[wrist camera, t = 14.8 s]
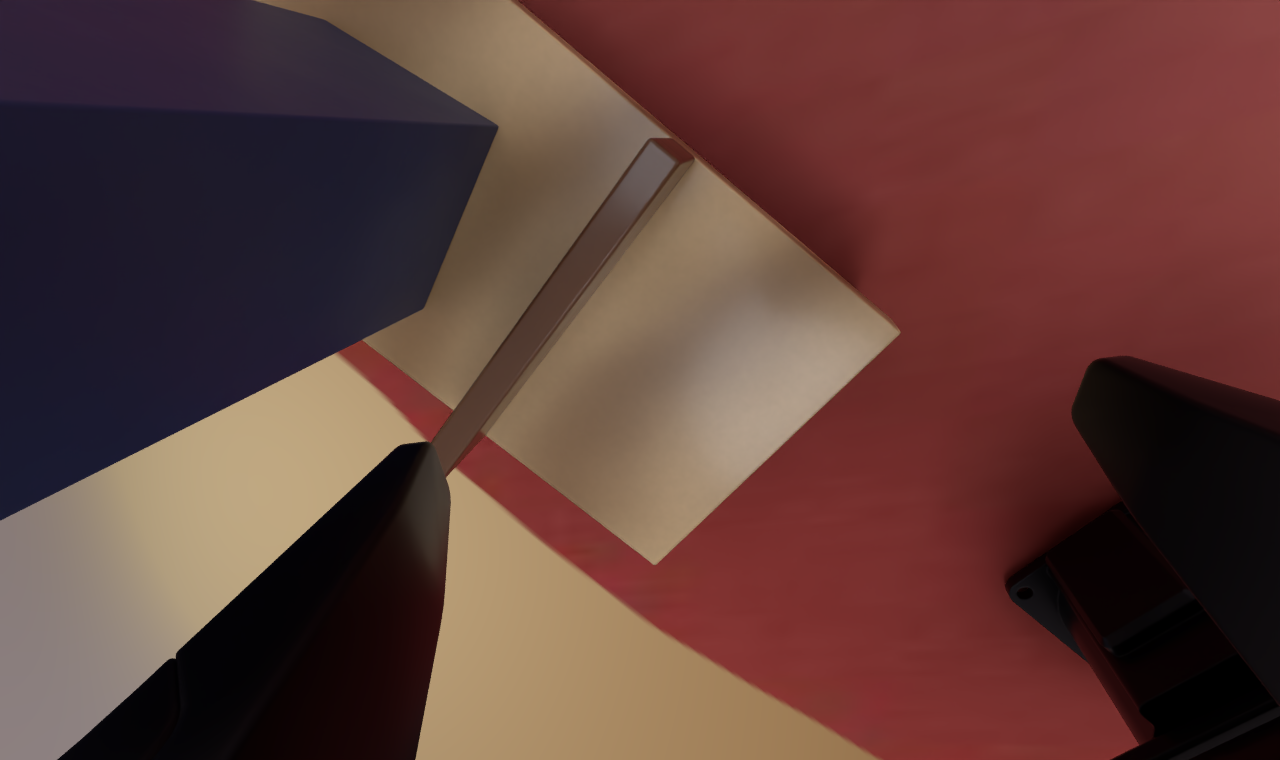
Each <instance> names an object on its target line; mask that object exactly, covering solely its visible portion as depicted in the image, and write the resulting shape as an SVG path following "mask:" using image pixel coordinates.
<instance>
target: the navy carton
mask: <svg viewBox="0 0 1280 760" xmlns="http://www.w3.org/2000/svg"><path fill="white" fill-rule="evenodd" d="M497 130H498V125H497V124H495V123H493V122H492V121H490V120H488V119H487V118H485V117H484V116H482V115H480V114H479V113H477V112H475V111H474V110H472V109H470V108H469V107H467V106H465V105H464V104H462V103H461V102H459V101H457V100H456V99H454V98H452V97H451V96H449V95H447V94H446V93H444V92H442V91H441V90H439V89H438V88H436V87H434V86H433V85H431V84H429V83H428V82H426V81H424V80H423V79H421V78H419V77H418V76H416V75H415V74H413V73H411V72H410V71H408V70H406V69H405V68H403V67H401V66H400V65H398V64H396V63H395V62H393V61H392V60H390V59H388V58H387V57H385V56H383V55H382V54H380V53H378V52H377V51H375V50H373V49H372V48H370V47H369V46H367V45H365V44H364V43H362V42H360V41H359V40H357V39H355V38H354V37H352V36H350V35H349V34H347V33H346V32H344V31H342V30H341V29H339V28H337V27H336V26H334V25H332V24H331V23H329V22H328V21H326V20H324V19H321V18H317V17H313V16H310V15H306V14H302V13H298V12H295V11H291V10H287V9H284V8H280V7H276V6H273V5H269V4H265V3H262V2H258V1H254V0H0V520H2V519H4V518H6V517H8V516H10V515H12V514H14V513H16V512H18V511H20V510H22V509H24V508H26V507H28V506H30V505H32V504H34V503H36V502H38V501H40V500H42V499H44V498H46V497H48V496H50V495H52V494H54V493H56V492H58V491H60V490H62V489H64V488H66V487H68V486H70V485H72V484H74V483H76V482H78V481H80V480H82V479H84V478H86V477H88V476H90V475H92V474H94V473H96V472H98V471H100V470H102V469H104V468H106V467H108V466H110V465H112V464H114V463H116V462H118V461H120V460H122V459H124V458H126V457H128V456H130V455H132V454H134V453H136V452H138V451H140V450H142V449H144V448H146V447H148V446H150V445H152V444H154V443H156V442H158V441H160V440H162V439H164V438H166V437H168V436H170V435H172V434H174V433H176V432H178V431H180V430H182V429H184V428H186V427H188V426H190V425H192V424H194V423H196V422H198V421H200V420H202V419H204V418H206V417H208V416H210V415H212V414H214V413H216V412H218V411H220V410H222V409H224V408H226V407H228V406H230V405H232V404H234V403H236V402H238V401H240V400H242V399H244V398H246V397H248V396H250V395H252V394H254V393H256V392H258V391H260V390H262V389H264V388H266V387H268V386H270V385H272V384H274V383H276V382H278V381H280V380H282V379H284V378H286V377H288V376H290V375H292V374H294V373H296V372H298V371H300V370H302V369H304V368H306V367H308V366H310V365H312V364H314V363H316V362H318V361H320V360H322V359H324V358H326V357H328V356H330V355H332V354H334V353H336V352H338V351H340V350H342V349H344V348H346V347H348V346H350V345H352V344H354V343H356V342H358V341H360V340H362V339H364V338H366V337H368V336H370V335H372V334H374V333H376V332H378V331H380V330H382V329H384V328H386V327H388V326H390V325H392V324H394V323H396V322H398V321H400V320H402V319H404V318H406V317H408V316H410V315H412V314H414V313H416V312H418V311H420V310H422V309H424V307H425V304H426V302H427V299H428V297H429V294H430V292H431V290H432V287H433V285H434V282H435V280H436V277H437V275H438V273H439V270H440V268H441V265H442V263H443V261H444V258H445V256H446V253H447V251H448V248H449V246H450V244H451V241H452V239H453V236H454V234H455V232H456V229H457V227H458V224H459V222H460V219H461V217H462V215H463V212H464V210H465V207H466V205H467V202H468V200H469V198H470V195H471V193H472V190H473V188H474V186H475V183H476V181H477V178H478V176H479V173H480V171H481V169H482V166H483V164H484V161H485V159H486V157H487V154H488V152H489V149H490V147H491V144H492V142H493V140H494V137H495V135H496V132H497Z"/></svg>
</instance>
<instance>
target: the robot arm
mask: <svg viewBox="0 0 1280 760" xmlns="http://www.w3.org/2000/svg"><path fill="white" fill-rule="evenodd" d="M1071 413H1072V419H1073V422H1074V424H1075V426H1076V428H1077V430H1078V431H1079V433H1080V434H1081V436H1082V438H1083V439H1084V441H1085V442H1086V444H1087V445H1088V447H1089V449H1090V450H1091V452H1092V453H1093V455H1094V457H1095V458H1096V460H1097V461H1098V463H1099V465H1100V466H1101V468H1102V469H1103V471H1104V472H1105V474H1106V476H1107V477H1108V479H1109V480H1110V482H1111V484H1112V485H1113V487H1114V488H1115V490H1116V492H1117V493H1118V495H1119V496H1120V498H1121V500H1122V501H1121V502H1120V503H1118V504H1117V505H1116V506H1114V507H1113V508H1111V509H1110V510H1108V511H1107V512H1105V513H1104V514H1102V515H1101V516H1099V517H1098V518H1097V519H1095V520H1094V521H1092V522H1091V523H1089V524H1088V525H1086V526H1085V527H1083V528H1082V529H1080V530H1079V531H1077V532H1076V533H1075V534H1073V535H1072V536H1070V537H1069V538H1067V539H1066V540H1064V541H1063V542H1061V543H1060V544H1058V545H1057V546H1056V547H1054V548H1053V549H1051V550H1050V551H1048V552H1047V553H1045V554H1044V555H1042V556H1041V557H1039V558H1038V559H1036V560H1035V561H1034V562H1032V563H1031V564H1029V565H1028V566H1026V567H1025V568H1023V569H1022V570H1020V571H1019V572H1017V573H1016V574H1015V575H1013V576H1012V577H1010V578H1009V579H1008V580H1007V582H1006V584H1005V588H1006V591H1007V593H1008V595H1009V597H1010V598H1011V599H1012V601H1013V602H1014V603H1016V604H1017V605H1018V606H1019V607H1021V608H1022V609H1023V610H1024V611H1025V612H1027V613H1028V614H1029V615H1030V616H1032V617H1033V618H1034V619H1035V620H1036V621H1038V622H1039V623H1040V624H1041V625H1043V626H1044V627H1045V628H1046V629H1047V630H1049V631H1050V632H1051V633H1052V634H1054V635H1055V636H1056V637H1057V638H1059V639H1060V640H1061V641H1062V642H1063V643H1065V644H1066V645H1067V646H1068V647H1070V648H1071V649H1072V650H1073V651H1074V652H1076V653H1077V654H1078V655H1079V656H1081V657H1082V658H1083V659H1084V660H1085V661H1087V662H1088V663H1089V664H1090V666H1091V667H1092V669H1093V671H1094V672H1095V674H1096V676H1097V677H1098V679H1099V680H1100V682H1101V684H1102V685H1103V687H1104V688H1105V690H1106V692H1107V693H1108V695H1109V697H1110V698H1111V700H1112V701H1113V703H1114V705H1115V706H1116V708H1117V709H1118V711H1119V713H1120V714H1121V716H1122V718H1123V719H1124V721H1125V722H1126V724H1127V726H1128V727H1129V729H1130V730H1131V732H1132V734H1133V735H1134V737H1135V739H1136V740H1137V742H1138V743H1139V746H1137V747H1135V748H1133V749H1131V750H1129V751H1127V752H1125V753H1123V754H1121V755H1119V756H1117V757H1115V758H1113V759H1111V760H1280V401H1278V400H1275V399H1272V398H1268V397H1265V396H1262V395H1258V394H1255V393H1252V392H1248V391H1245V390H1242V389H1238V388H1235V387H1232V386H1228V385H1225V384H1222V383H1218V382H1215V381H1211V380H1208V379H1205V378H1201V377H1198V376H1195V375H1191V374H1188V373H1185V372H1181V371H1178V370H1175V369H1171V368H1168V367H1165V366H1161V365H1158V364H1155V363H1151V362H1148V361H1145V360H1141V359H1138V358H1135V357H1131V356H1116V357H1108V358H1100V359H1097V360H1095V361H1093V362H1092V363H1091V364H1090V365H1089V366H1088V368H1087V370H1086V372H1085V375H1084V377H1083V380H1082V382H1081V385H1080V387H1079V390H1078V392H1077V395H1076V397H1075V400H1074V402H1073V405H1072V412H1071ZM450 504H451V501H450V491H449V486H448V483H447V480H446V477H445V474H444V471H443V468H442V466H441V463H440V460H439V457H438V454H437V451H436V449H435V447H434V446H433V444H432V443H430V442H418V443H409V444H403V445H400V446H398V447H397V448H395V449H394V450H393V451H392V452H391V453H390V454H389V455H388V456H387V457H386V458H385V459H383V461H381V462H380V463H379V464H378V465H377V466H376V467H375V468H374V469H373V470H372V471H371V472H369V473H368V474H367V476H365V477H364V478H363V479H362V480H361V481H360V482H359V483H358V484H357V485H356V486H355V487H353V488H352V489H351V490H350V491H349V492H348V493H347V494H346V495H345V496H344V497H343V498H342V499H341V500H340V501H338V502H337V503H336V504H335V505H334V506H333V507H332V508H331V509H330V510H329V511H328V512H327V513H326V514H324V515H323V516H322V517H321V518H320V519H319V520H318V521H317V522H316V523H315V524H314V525H313V526H312V527H310V529H308V530H307V531H306V532H305V533H304V534H303V535H302V536H301V537H300V538H299V539H298V540H297V541H295V542H294V543H293V544H292V545H291V546H290V547H289V548H288V549H287V550H286V551H285V552H284V553H283V554H282V555H280V556H279V557H278V558H277V559H276V560H275V561H274V562H273V563H272V564H271V565H270V566H269V567H268V568H267V569H265V571H263V572H262V573H261V574H260V575H259V576H258V577H257V578H256V579H255V580H254V581H253V582H251V583H250V584H249V585H248V586H247V587H246V588H245V589H244V590H243V591H242V592H241V593H240V594H239V595H238V596H236V597H235V599H233V600H232V601H231V602H230V603H229V604H228V605H227V606H226V607H225V608H224V609H223V610H222V611H221V612H219V613H218V614H217V615H216V616H215V617H214V618H213V619H212V620H211V621H210V622H209V623H208V624H206V625H205V626H204V628H202V629H201V630H200V631H199V632H198V633H197V634H196V635H195V636H194V637H192V638H191V639H190V640H189V641H188V642H187V643H186V644H185V645H184V646H183V647H182V648H181V649H180V650H179V651H178V652H177V653H176V659H173V658H172V659H169V660H168V661H167V662H165V663H164V664H163V665H162V666H161V667H160V668H159V669H158V670H157V671H156V672H155V673H154V674H153V675H151V676H150V677H149V678H148V679H147V680H146V681H145V682H144V683H143V684H142V685H141V686H140V687H139V688H137V689H136V690H135V691H134V692H133V693H132V694H131V695H130V696H129V697H128V698H126V699H125V700H124V701H123V702H122V703H121V704H120V705H119V706H118V707H116V708H115V709H114V710H113V711H112V712H111V713H110V714H109V715H108V716H106V717H105V718H104V719H103V720H102V721H101V722H100V723H99V724H98V725H97V726H95V727H94V728H93V729H92V730H91V731H90V732H89V733H88V734H87V735H85V736H84V737H83V738H82V739H81V740H80V741H79V742H77V743H76V744H75V745H74V746H73V747H72V748H70V749H69V750H68V751H67V752H66V753H65V754H63V755H62V756H61V757H60V758H59V759H58V760H415V758H416V752H417V748H418V742H419V736H420V732H421V726H422V721H423V716H424V710H425V705H426V700H427V694H428V689H429V683H430V678H431V673H432V668H433V662H434V657H435V652H436V646H437V641H438V636H439V631H440V625H441V619H442V613H443V606H444V594H445V580H446V566H447V565H446V564H447V550H448V535H449V520H450ZM1023 587H1028V588H1027V590H1025V591H1022V592H1019V591H1018V590H1019V589H1021V588H1023Z"/></svg>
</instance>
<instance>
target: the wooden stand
mask: <svg viewBox="0 0 1280 760" xmlns="http://www.w3.org/2000/svg"><path fill="white" fill-rule="evenodd" d="M254 1H258V2H262V3H265V4H269V5H273V6H276V7H280V8H284V9H287V10H291V11H295V12H298V13H302V14H306V15H310V16H313V17H317V18H321V19H324V20H326V21H328V22H329V23H331V24H332V25H334V26H336V27H337V28H339V29H341V30H342V31H344V32H346V33H347V34H349V35H350V36H352V37H354V38H355V39H357V40H359V41H360V42H362V43H364V44H365V45H367V46H369V47H370V48H372V49H373V50H375V51H377V52H378V53H380V54H382V55H383V56H385V57H387V58H388V59H390V60H392V61H393V62H395V63H396V64H398V65H400V66H401V67H403V68H405V69H406V70H408V71H410V72H411V73H413V74H415V75H416V76H418V77H419V78H421V79H423V80H424V81H426V82H428V83H429V84H431V85H433V86H434V87H436V88H438V89H439V90H441V91H442V92H444V93H446V94H447V95H449V96H451V97H452V98H454V99H456V100H457V101H459V102H461V103H462V104H464V105H465V106H467V107H469V108H470V109H472V110H474V111H475V112H477V113H479V114H480V115H482V116H484V117H485V118H487V119H488V120H490V121H492V122H493V123H495V124H497V125H498V130H497V132H496V135H495V137H494V140H493V142H492V144H491V147H490V149H489V152H488V154H487V157H486V159H485V161H484V164H483V166H482V169H481V171H480V173H479V176H478V178H477V181H476V183H475V186H474V188H473V190H472V193H471V195H470V198H469V200H468V202H467V205H466V207H465V210H464V212H463V215H462V217H461V219H460V222H459V224H458V227H457V229H456V232H455V234H454V236H453V239H452V241H451V244H450V246H449V248H448V251H447V253H446V256H445V258H444V261H443V263H442V265H441V268H440V270H439V273H438V275H437V277H436V280H435V282H434V285H433V287H432V290H431V292H430V294H429V297H428V299H427V302H426V304H425V307H424V309H422V310H420V311H418V312H416V313H414V314H412V315H410V316H408V317H406V318H404V319H402V320H400V321H398V322H396V323H394V324H392V325H390V326H388V327H386V328H384V329H382V330H380V331H378V332H376V333H374V334H372V335H370V336H368V337H366V338H364V339H362V340H363V341H364V342H365V343H367V344H368V345H369V346H371V347H372V348H373V349H374V350H376V351H377V352H378V353H380V354H381V355H382V356H384V357H385V358H386V359H387V360H389V361H390V362H391V363H393V364H394V365H395V366H396V367H398V368H399V369H400V370H402V371H403V372H404V373H406V374H407V375H408V376H409V377H411V378H412V379H413V380H415V381H416V382H417V383H419V384H420V385H421V386H422V387H424V388H425V389H426V390H428V391H429V392H430V393H432V394H433V395H434V396H435V397H437V398H438V399H439V400H441V401H442V402H443V403H445V404H446V405H447V406H448V407H450V408H451V409H452V410H454V411H453V412H452V414H451V415H450V416H449V418H448V419H447V421H446V422H445V423H444V425H443V426H442V428H441V429H440V430H439V432H438V433H437V435H436V436H435V437H434V439H433V440H432V442H431V443H432V444H433V446H434V447H435V449H436V451H437V454H438V457H439V460H440V463H441V466H442V468H443V471H444V474H445V477H447V476H448V475H449V473H450V472H451V471H452V470H453V469H454V468H455V467H456V466H457V465H458V464H459V463H460V462H461V461H462V460H463V459H464V458H465V456H466V455H467V454H468V453H469V452H470V451H471V450H472V449H473V448H474V447H475V446H476V445H477V444H478V443H479V442H480V441H481V439H482V438H483V437H484V436H485V435H486V436H487V437H489V438H490V439H491V440H493V441H494V442H495V443H496V444H498V445H499V446H500V447H502V448H503V449H504V450H506V451H507V452H508V453H509V454H511V455H512V456H513V457H515V458H516V459H517V460H518V461H520V462H521V463H522V464H524V465H525V466H526V467H528V468H529V469H530V470H531V471H533V472H534V473H535V474H537V475H538V476H539V477H541V478H542V479H543V480H544V481H546V482H547V483H548V484H550V485H551V486H552V487H554V488H555V489H556V490H557V491H559V492H560V493H561V494H563V495H564V496H565V497H567V498H568V499H569V500H570V501H572V502H573V503H574V504H576V505H577V506H578V507H580V508H581V509H582V510H583V511H585V512H586V513H587V514H589V515H590V516H591V517H592V518H594V519H595V520H596V521H598V522H599V523H600V524H602V525H603V526H604V527H605V528H607V529H608V530H609V531H611V532H612V533H613V534H615V535H616V536H617V537H618V538H620V539H621V540H622V541H624V542H625V543H626V544H628V545H629V546H630V547H631V548H633V549H634V550H635V551H637V552H638V553H639V554H641V555H642V556H643V557H644V558H646V559H647V560H648V561H650V562H651V563H652V564H653V565H656V564H657V563H658V562H659V561H661V560H662V559H663V558H664V557H665V556H666V555H667V554H668V553H669V552H670V551H671V550H672V549H673V548H674V547H675V546H676V545H677V544H679V543H680V542H681V541H682V540H683V539H684V538H685V537H686V536H687V535H688V534H689V533H690V532H691V531H692V530H693V529H694V528H695V527H696V526H698V525H699V524H700V523H701V522H702V521H703V520H704V519H705V518H706V517H707V516H708V515H709V514H710V513H711V512H712V511H713V510H714V509H716V508H717V507H718V506H719V505H720V504H721V503H722V502H723V501H724V500H725V499H726V498H727V497H728V496H729V495H730V494H731V493H732V492H733V491H735V490H736V489H737V488H738V487H739V486H740V485H741V484H742V483H743V482H744V481H745V480H746V479H747V478H748V477H749V476H750V475H751V474H753V473H754V472H755V471H756V470H757V469H758V468H759V467H760V466H761V465H762V464H763V463H764V462H765V461H766V460H767V459H768V458H769V457H770V456H772V455H773V454H774V453H775V452H776V451H777V450H778V449H779V448H780V447H781V446H782V445H783V444H784V443H785V442H786V441H787V440H788V439H790V438H791V437H792V436H793V435H794V434H795V433H796V432H797V431H798V430H799V429H800V428H801V427H802V426H803V425H804V424H805V423H806V422H807V421H809V420H810V419H811V418H812V417H813V416H814V415H815V414H816V413H817V412H818V411H819V410H820V409H821V408H822V407H823V406H824V405H825V404H827V403H828V402H829V401H830V400H831V399H832V398H833V397H834V396H835V395H836V394H837V393H838V392H839V391H840V390H841V389H842V388H843V387H844V386H846V385H847V384H848V383H849V382H850V381H851V380H852V379H853V378H854V377H855V376H856V375H857V374H858V373H859V372H860V371H861V370H862V369H864V368H865V367H866V366H867V365H868V364H869V363H870V362H871V361H872V360H873V359H874V358H875V357H876V356H877V355H878V354H879V353H880V352H881V351H883V350H884V349H885V348H886V347H887V346H888V345H889V344H890V343H891V342H892V341H893V340H894V339H895V338H896V337H897V336H898V335H899V334H900V333H901V332H900V330H899V329H898V327H897V326H896V325H895V323H894V322H893V320H892V319H891V318H890V317H889V316H887V315H886V314H885V313H884V312H883V311H882V310H880V309H879V308H878V307H877V306H876V305H875V304H873V303H872V302H871V301H870V300H869V299H867V298H866V297H865V296H864V295H863V294H862V293H860V292H859V291H858V290H857V289H856V288H855V287H853V286H852V285H851V284H850V283H849V282H847V281H846V280H845V279H844V278H843V277H842V276H840V275H839V274H838V273H837V272H836V271H835V270H833V269H832V268H831V267H830V266H829V265H828V264H826V263H825V262H824V261H823V260H822V259H820V258H819V257H818V256H817V255H816V254H815V253H813V252H812V251H811V250H810V249H809V248H808V247H806V246H805V245H804V244H803V243H802V242H801V241H799V240H798V239H797V238H796V237H795V236H793V235H792V234H791V233H790V232H789V231H788V230H786V229H785V228H784V227H783V226H782V225H781V224H779V223H778V222H777V221H776V220H775V219H774V218H772V217H771V216H770V215H769V214H768V213H766V212H765V211H764V210H763V209H762V208H761V207H759V206H758V205H757V204H756V203H755V202H754V201H752V200H751V199H750V198H749V197H748V196H747V195H745V194H744V193H743V192H742V191H741V190H739V189H738V188H737V187H736V186H735V185H734V184H732V183H731V182H730V181H729V180H728V179H727V178H725V177H724V176H723V175H722V174H721V173H720V172H718V171H717V170H716V169H715V168H714V167H712V166H711V165H710V164H709V163H708V162H707V161H705V160H704V159H703V158H702V157H701V156H700V155H698V154H697V153H696V152H695V151H694V150H693V149H691V148H690V147H689V146H688V145H687V144H685V143H684V142H683V141H682V140H681V139H680V138H678V137H677V136H676V135H675V134H674V133H673V132H671V131H670V130H669V129H668V128H667V127H666V126H664V125H663V124H662V123H661V122H660V121H658V120H657V119H656V118H655V117H654V116H653V115H651V114H650V113H649V112H648V111H647V110H646V109H644V108H643V107H642V106H641V105H640V104H639V103H637V102H636V101H635V100H634V99H633V98H631V97H630V96H629V95H628V94H627V93H626V92H624V91H623V90H622V89H621V88H620V87H619V86H617V85H616V84H615V83H614V82H613V81H612V80H610V79H609V78H608V77H607V76H606V75H604V74H603V73H602V72H601V71H600V70H599V69H597V68H596V67H595V66H594V65H593V64H592V63H590V62H589V61H588V60H587V59H586V58H584V57H583V56H582V55H581V54H580V53H579V52H577V51H576V50H575V49H574V48H573V47H572V46H570V45H569V44H568V43H567V42H566V41H565V40H563V39H562V38H561V37H560V36H559V35H557V34H556V33H555V32H554V31H553V30H552V29H550V28H549V27H548V26H547V25H546V24H545V23H543V22H542V21H541V20H540V19H539V18H538V17H536V16H535V15H534V14H533V13H532V12H530V11H529V10H528V9H527V8H526V7H525V6H523V5H522V4H521V3H520V2H519V1H518V0H254Z"/></svg>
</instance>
